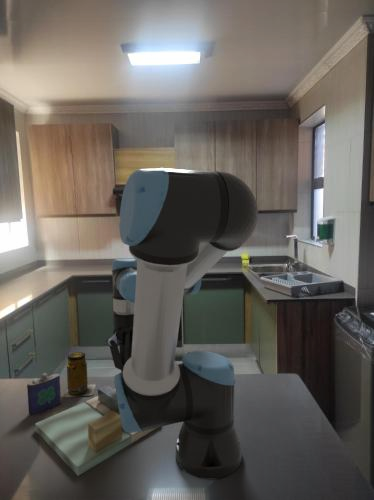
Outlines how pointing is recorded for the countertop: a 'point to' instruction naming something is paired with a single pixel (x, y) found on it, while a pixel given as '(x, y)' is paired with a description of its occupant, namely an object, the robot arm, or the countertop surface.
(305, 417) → the countertop surface
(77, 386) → the condiment
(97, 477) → the countertop surface
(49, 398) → the flask
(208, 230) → the robot arm
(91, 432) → the two-tone base plate
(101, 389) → the latch bar
